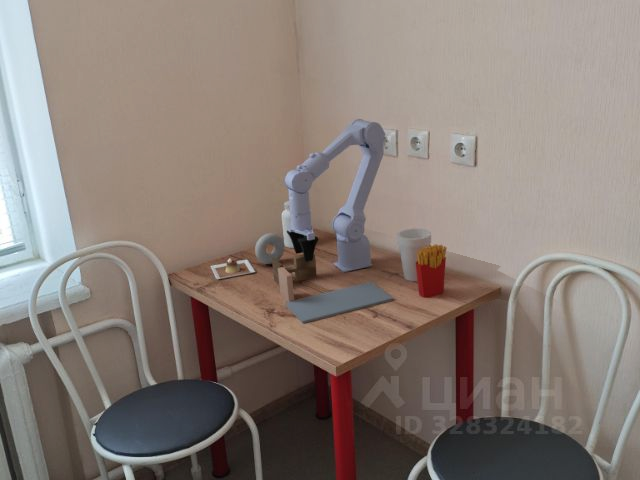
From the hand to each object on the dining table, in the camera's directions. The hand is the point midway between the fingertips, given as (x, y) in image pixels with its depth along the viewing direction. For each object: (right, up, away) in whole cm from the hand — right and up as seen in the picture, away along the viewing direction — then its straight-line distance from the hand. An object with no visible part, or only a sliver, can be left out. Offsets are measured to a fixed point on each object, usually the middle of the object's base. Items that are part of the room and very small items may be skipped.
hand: (304, 256), depth 190 cm
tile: (-4, -11, -11) cm, 16 cm away
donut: (-11, -3, +15) cm, 19 cm away
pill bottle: (-3, +3, +31) cm, 31 cm away
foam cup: (+32, -6, -3) cm, 33 cm away
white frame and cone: (-22, -5, +13) cm, 26 cm away
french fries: (+35, -10, -15) cm, 39 cm away
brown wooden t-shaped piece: (-2, -7, +1) cm, 7 cm away
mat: (+10, -12, -16) cm, 22 cm away
